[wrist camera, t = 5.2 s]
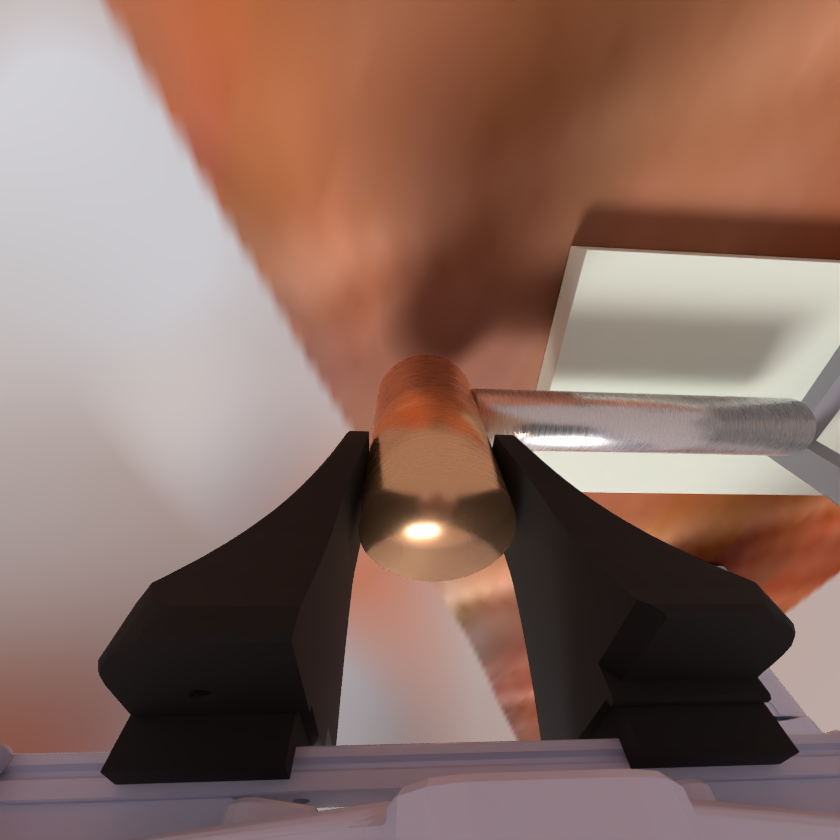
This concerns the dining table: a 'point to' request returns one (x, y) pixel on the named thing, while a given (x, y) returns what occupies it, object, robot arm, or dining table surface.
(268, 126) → the dining table surface
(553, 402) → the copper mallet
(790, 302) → the eye stand
